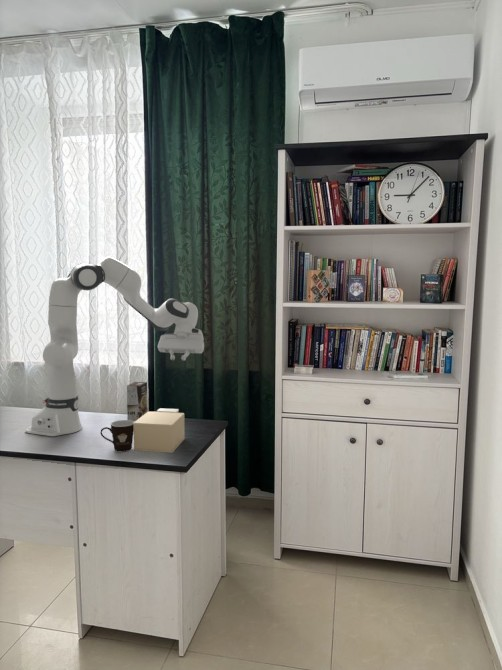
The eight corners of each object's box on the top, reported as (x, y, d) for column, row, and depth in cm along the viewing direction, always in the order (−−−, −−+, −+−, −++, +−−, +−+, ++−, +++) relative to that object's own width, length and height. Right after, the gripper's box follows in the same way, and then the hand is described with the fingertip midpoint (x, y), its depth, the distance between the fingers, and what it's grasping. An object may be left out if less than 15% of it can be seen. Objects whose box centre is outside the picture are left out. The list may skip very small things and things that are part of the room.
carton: (133, 450, 190) (133, 424, 189) (148, 436, 206) (148, 412, 205) (172, 452, 188) (172, 426, 187) (184, 438, 204) (184, 414, 203)
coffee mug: (138, 446, 195) (138, 420, 194) (128, 453, 187) (127, 427, 185) (111, 443, 198) (110, 418, 196) (99, 451, 189) (98, 425, 188)
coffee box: (140, 421, 228) (139, 386, 226) (126, 420, 229) (126, 385, 227) (148, 415, 237) (147, 381, 235) (135, 414, 238) (134, 381, 236)
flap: (133, 424, 189) (133, 421, 189) (151, 410, 209) (151, 407, 209) (172, 426, 187) (172, 423, 187) (187, 411, 206) (187, 409, 206)
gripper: (159, 329, 225) (152, 354, 217) (204, 330, 222) (199, 355, 213) (163, 338, 230) (156, 362, 221) (207, 339, 227) (201, 364, 218)
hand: (177, 359), depth 217 cm, fingers open, 3 cm apart
